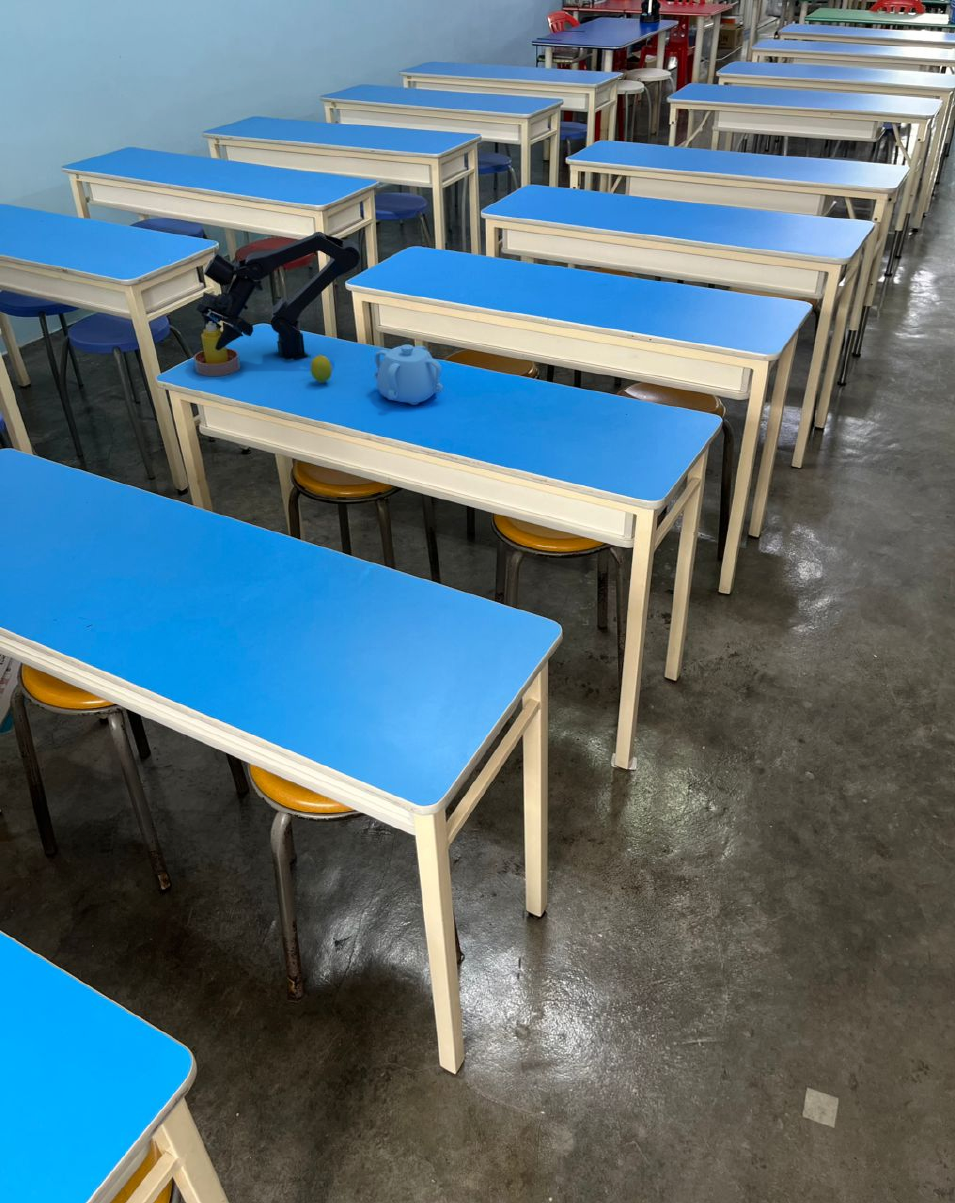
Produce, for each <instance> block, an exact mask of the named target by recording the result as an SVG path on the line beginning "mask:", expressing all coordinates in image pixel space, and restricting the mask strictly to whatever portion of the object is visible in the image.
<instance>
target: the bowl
mask: <svg viewBox="0 0 955 1203" xmlns="http://www.w3.org/2000/svg"><path fill="white" fill-rule="evenodd" d="M226 350H227V356H228V362H224V363H219V364H206V360H205V354H204V349H203V350H201V351H198V352H197V353H195V354H194V356H193V363H194V368H195V372H196V373H197V374H198V375H201V376H206V377H223V376H224V377H225V376H228V375H231V374H234V373H236V372H237V371H239V370H240V368H241V360H240V356H239V352H238V350H236V349H233V348H228V347H226Z"/></svg>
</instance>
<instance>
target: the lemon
mask: <svg viewBox="0 0 955 1203" xmlns="http://www.w3.org/2000/svg"><path fill="white" fill-rule="evenodd" d="M310 363H311V364H310V374H311V375H312V378H313V379H314V380H315V381H317V382H319V383H320V384H324V383H325V382H327V381H329V380H330V378H331V377H332V373H333V372H332V371H333V369H332V364H331V362H330V359H329V358H328V357H326V356H324V355H322V354H318V355H316V356H315V357H314V358H313V359H312V360H311V362H310Z"/></svg>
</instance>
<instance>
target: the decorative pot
mask: <svg viewBox="0 0 955 1203" xmlns="http://www.w3.org/2000/svg"><path fill="white" fill-rule="evenodd" d="M381 355H383V358H382V360H381ZM374 363H375V366H376V369H377V370H376V371H375V372H374V378H375V380H376V388H377V390H378V391H379V393H380V394H381V395H382V396H383V397H384V398H386V399H387V400H389V401H394V402H395V401H396V402H401V403H408V404H409V405H412V406H416V405H419V404H420V403H422V402H424V401H426V400H429V399H430V398H431V397H432V396H433V395H434V394H435V393H436V394H439V393H442V391H443V390H444V386H443V384H442V383H441V375H442V365H441V364H440V362H439V361H437V359H434V358H433V356H432V354H431V353H430V352H429V351H428V349H427V347H426V346H424V345H421V344H419V345H416V346H414V345H412V344H402V345H400V346H396V347H395V346H394V347H393V348H391V349H390V350H386V349H381V350H378V351H377V352H376V353H375V354H374Z"/></svg>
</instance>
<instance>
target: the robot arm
mask: <svg viewBox="0 0 955 1203" xmlns="http://www.w3.org/2000/svg"><path fill="white" fill-rule="evenodd" d="M317 252H321V253H323V254H325V255H326V256H328V257H330V259H329V261H328V262H327V263H326V265H324V267H323V268H321V269H320V270H319V271H318V272H317V273H316V274H315V275H314V276H313V277H312V279H310V280H309V281H308V282H306V284H305V285H304V286H303V287H302V288H301V289H300V290H299V291H298V292H297V293H296V294H295V295H293V297H291V298H290V299H287V300H286V299H285V298H284V297H283V296H282V297H281V298H280V300H279V301H278V302H277V303H276V304H274V305H272V311H271V313H270V326H271V329H272V330H273V331H274V332H276V333H277V341H276V344H277V354H278V355H279V356H280V357H282V358H284V359H285V360H287V361H289V360H298V359H301V358H302V359H303V358H306V357H308V354H307V353H306V352H305V344H304V343H305V341H304V333H302V332H301V322H300V320H298V319H299V317H300V316H301V314H302V312H303V311H304V310H305V309H306V308H307V307H308V306H309V305H311V303H312V302H314V300H315V299H317V297H318V296H319V295H320V294H322V292H323V291H325V289H327V288H328V287H329V286H330V285H331V284H332V283H333V282H334V281H335V280H336V279H337V278H339V277H340V276H342V275H346V274H347V273H349V272H350V271H352V270H353V269H355V268H357V266H358V265H359V264H360V262H361V253H360V250H359V245H357V243H356V242H354V241H352V240H346V239H345V240H343V239H341V238H338V237H336V236H333V235H329V234H326V233H324V232H323V231H316V232H314V233H313V234H310V235H308V236H305V237H302V238H301V239H297V240H296V241H293V242H289V243H288V244H286V245H283V246H280V247H278V248H275V249H269V250H267V249H266V250H260V251H254V252H250V253H248V255H246V258H243V259H240V260H236V261H234V262H232V261H230V260H228V259H227V258H225V257H224V256H223V255H222V254H221V253H219V252H216V253H215V254H214V256H213V257H212V259H209V262H208V264H207V265H206V267H205V269H204V272H203V275H204V276H206V277H207V278H208V279H210V280H212V281H213V282H215V283H216V284H217V285H220V286H221V287H223V286H224V287H226V286H229V285H230V286H229V288H228V290H227V292H225V291H223V292H221V293H218V294H213V293H209V292H205V291H204V292H203V293H202V296H201V297H202V298H201V302H200V303H198V306H197V307H196V311H197V312H199V313H200V315H201V317H202V318H203V321H204V326H203V330H204V329H205V328H206V324H208V323H209V321H212V323H215V324H216V326H217V327H218V328H220V329H221V328H222V333H221V336H220V338H219V340H218V342H217V345H216V347H215V349H217V350H220V349H222V348H223V347H225V346H226V347H227V346H228V345H229V344H231V343H232V342H234V341H235V340H237V339H239V338H240V337H241V338H243V337H244V335H245V336H248V337H251V336H252V334H253V332H254V326H253V325H252V324H250V323H249V321H246V320H245V319H244V318H243V317H241V314H242V312H243V311H244V310H245V311H247V310H248V309H249V306H247V304H248V301H249V300H250V298H251V296H252V294H253V292H254V291H258V292H263V291H264V288H263V286H262V280H263V279H264V278H266V277H268V276H270V275H271V274H272V273H273V272H274V271H276V270H277V269H278V268H280V267H282V266H283V265H286V264H289V263H291V262H294V261H297V260H299V259H301V258H303V257H306V256H309V255H312V254H314V253H317ZM232 280H233V281H232ZM230 283H231V284H230ZM221 321H222V322H221ZM220 322H221V323H222V325H221V324H220ZM202 333H204V331H203V332H202Z"/></svg>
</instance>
